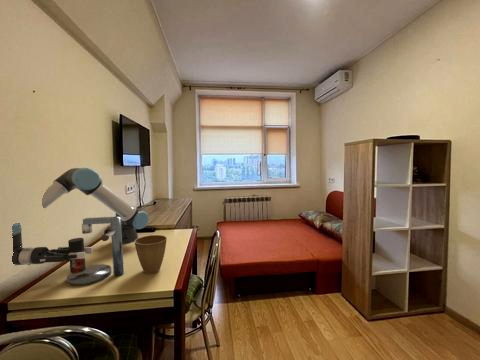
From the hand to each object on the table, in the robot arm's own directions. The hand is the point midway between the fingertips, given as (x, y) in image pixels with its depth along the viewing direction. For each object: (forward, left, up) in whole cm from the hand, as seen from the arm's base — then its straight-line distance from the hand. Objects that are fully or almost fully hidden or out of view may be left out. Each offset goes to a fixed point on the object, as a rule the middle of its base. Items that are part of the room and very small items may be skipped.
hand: (88, 252), depth 113 cm
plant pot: (+22, +18, -12) cm, 31 cm away
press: (+4, +1, -12) cm, 13 cm away
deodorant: (-4, -3, -9) cm, 10 cm away
